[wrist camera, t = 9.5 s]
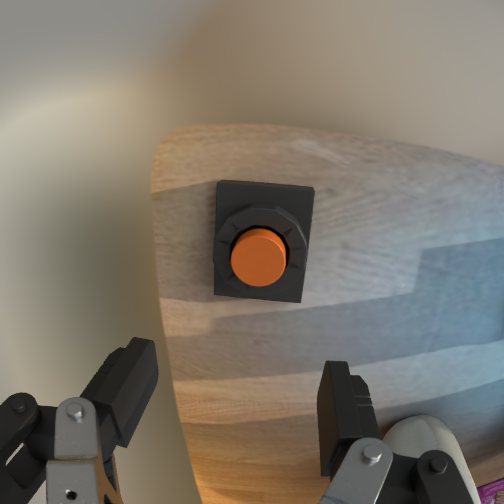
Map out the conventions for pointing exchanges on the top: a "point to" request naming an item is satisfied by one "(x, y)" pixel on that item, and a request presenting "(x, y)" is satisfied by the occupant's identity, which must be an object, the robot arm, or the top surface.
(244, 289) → the button block
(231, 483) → the top surface
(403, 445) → the off-white tall tapered cylinder
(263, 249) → the button
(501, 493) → the candy bar box
